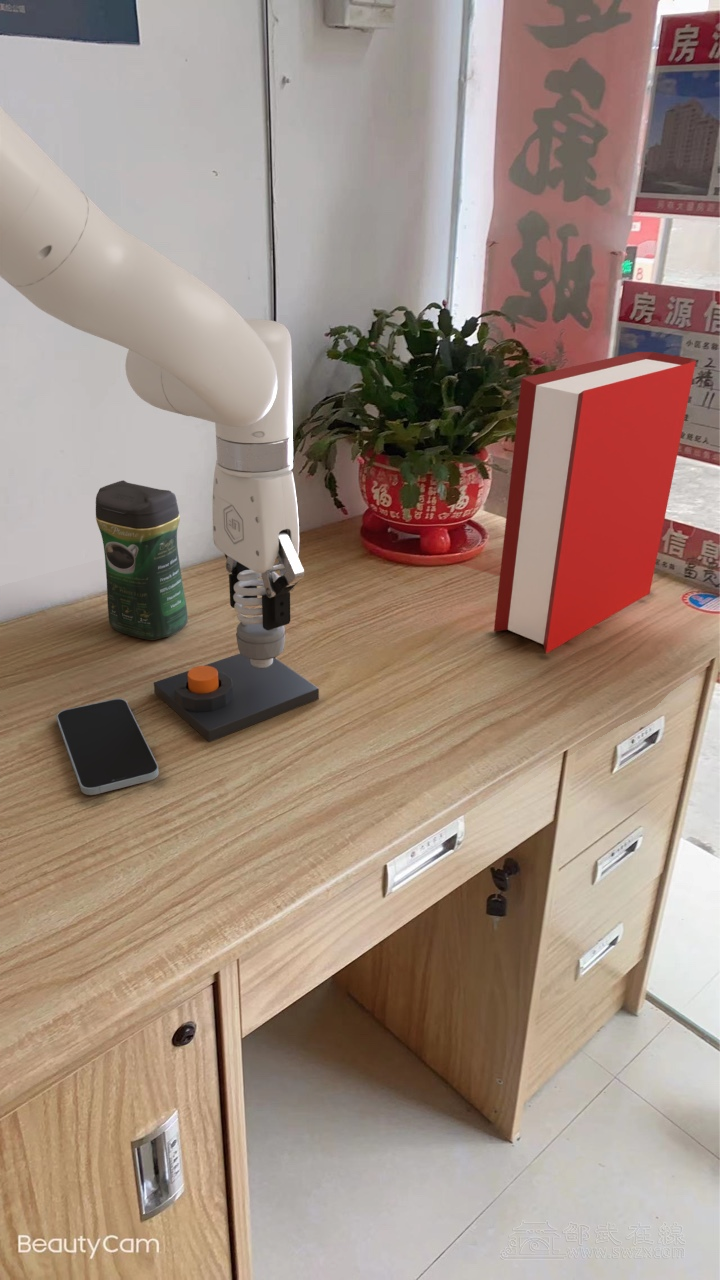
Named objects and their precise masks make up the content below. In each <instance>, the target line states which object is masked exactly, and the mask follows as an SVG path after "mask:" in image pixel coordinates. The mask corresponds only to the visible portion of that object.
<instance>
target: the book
mask: <svg viewBox="0 0 720 1280" xmlns="http://www.w3.org/2000/svg"><path fill="white" fill-rule="evenodd" d="M696 363H697V361H696V360H695V359H694V358H691V357H685V356H680V355H674V354H667V353H661V352H655V351H635V352H632V353H627V354H621V355H617V356H613V357H609V358H604V359H600V360H595V361H591V362H586V363H582V364H577V365H574V366H573V365H572V366H569V367H564V368H560V369H556V370H551V371H548V372H543V373H538V374H534V375H529V376H524V377H521V380H520V390H519V399H518V407H517V418H516V424H515V425H516V426H515V435H514V443H513V453H512V454H513V455H512V461H511V462H512V463H511V472H510V480H509V489H508V497H507V498H508V499H507V509H506V518H505V524H504V525H505V526H504V535H503V544H502V546H503V547H502V553H501V562H500V572H499V580H498V589H497V599H496V609H495V616H494V617H495V618H494V628H493V632H501V631H507V630H508V631H510V632H512V633H515V634H517V635H520V636H522V637H524V638H527V639H529V640H532V641H534V642H536V643H538V644H541V645H543V648H544V651H545V654H548V653H550V652H551V651H553V650H555V649H557V648H558V647H560V646H561V645H563V644H565V643H566V642H568V641H570V640H572V639H574V638H575V637H577V636H579V635H581V634H582V633H584V632H586V631H587V630H589V629H591V628H592V627H595V626H596V625H598V624H599V623H601V622H603V621H605V620H606V619H608V618H610V617H612V616H613V615H615V614H617V613H619V612H620V611H622V610H623V609H625V608H627V607H628V606H630V605H632V604H634V603H635V602H638V601H639V600H641V599H643V598H644V597H646V596H648V595H649V594H650V593H651V588H652V583H653V578H654V574H655V568H656V564H657V558H658V554H659V548H660V544H661V539H662V533H663V527H664V524H665V520H666V519H665V518H666V513H667V508H668V505H669V499H670V495H671V489H672V484H673V478H674V474H675V468H676V463H677V458H678V454H679V448H680V443H681V438H682V433H683V429H684V423H685V418H686V414H687V409H688V408H687V407H688V405H689V404H688V403H689V399H690V393H691V389H692V384H693V380H694V379H693V378H694V373H695V369H696Z"/></svg>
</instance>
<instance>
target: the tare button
mask: <svg viewBox="0 0 720 1280" xmlns="http://www.w3.org/2000/svg"><path fill="white" fill-rule="evenodd" d="M188 671H189V672H188V686H189V690H190V691H191V692H193V693H198V694H202V693H210V692H213V691H216V690H217V689H218V687H219V682H218V671H217V669H215V668H214V667H211V666H204V665H197V666H195V667H192V668H191V669H189V670H188Z"/></svg>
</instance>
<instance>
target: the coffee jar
mask: <svg viewBox="0 0 720 1280" xmlns="http://www.w3.org/2000/svg"><path fill="white" fill-rule="evenodd" d="M177 501H178V500H177V497H176V494H175V493H174V492H172V491H171V490H169V489H160V488H155V487H151V486H147V485H141V484H136V483H131V482H128V481H125V480H119V481H116V482H113V483H110V484H107V485H104V486H102V487H100V488H99V489H98V492H97V493H96V496H95V520H96V524H97V527H98V530H99V532H100V534H101V539H102V545H103V552H104V553H103V554H104V563H105V575H106V598H107V600H106V602H107V614H108V622H109V623H108V624H109V625H110V627H111V628H112V629H114V630H116V631H117V632H120V633H122V634H124V635H128V636H130V637H134V638H139V639H143V640H147V641H155V640H159V639H163V638H167V637H171V636H174V635H175V634H178V633H179V632H180V631H181V630H182V629H184V627H185V626H186V625H187V624H188V621H189V616H188V609H187V608H188V607H187V601H186V595H185V589H184V584H183V578H182V571H181V563H180V557H179V550H178V530H179V529H178V528H179V525H180V519H181V517H180V510H179V506H178V502H177Z"/></svg>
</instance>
